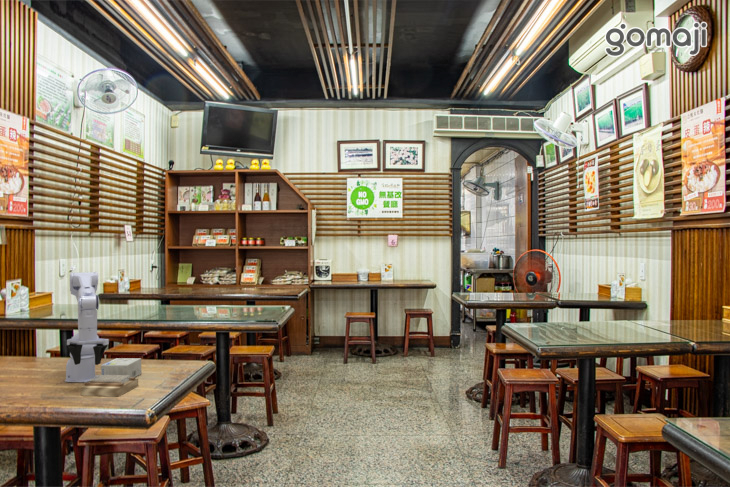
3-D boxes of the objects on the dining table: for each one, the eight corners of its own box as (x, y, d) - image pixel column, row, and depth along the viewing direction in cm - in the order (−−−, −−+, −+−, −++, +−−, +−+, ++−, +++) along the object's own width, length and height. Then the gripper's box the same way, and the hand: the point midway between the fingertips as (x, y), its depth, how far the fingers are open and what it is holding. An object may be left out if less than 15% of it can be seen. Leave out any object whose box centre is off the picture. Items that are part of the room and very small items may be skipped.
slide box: (80, 395, 155) (80, 385, 155) (103, 385, 167) (103, 375, 167) (118, 396, 154) (118, 386, 154) (138, 386, 166) (138, 376, 166)
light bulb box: (142, 373, 181) (116, 373, 182) (141, 357, 181) (116, 357, 182) (127, 381, 171) (100, 381, 171) (127, 364, 171) (100, 364, 171)
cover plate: (90, 384, 158) (90, 378, 158) (99, 380, 163) (99, 374, 163) (121, 385, 157) (121, 379, 157) (130, 380, 162) (130, 375, 163)
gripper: (61, 329, 158) (60, 366, 158) (100, 329, 158) (100, 367, 158) (74, 326, 165) (73, 361, 165) (112, 326, 165) (111, 362, 165)
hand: (87, 364), depth 162 cm, fingers open, 7 cm apart
